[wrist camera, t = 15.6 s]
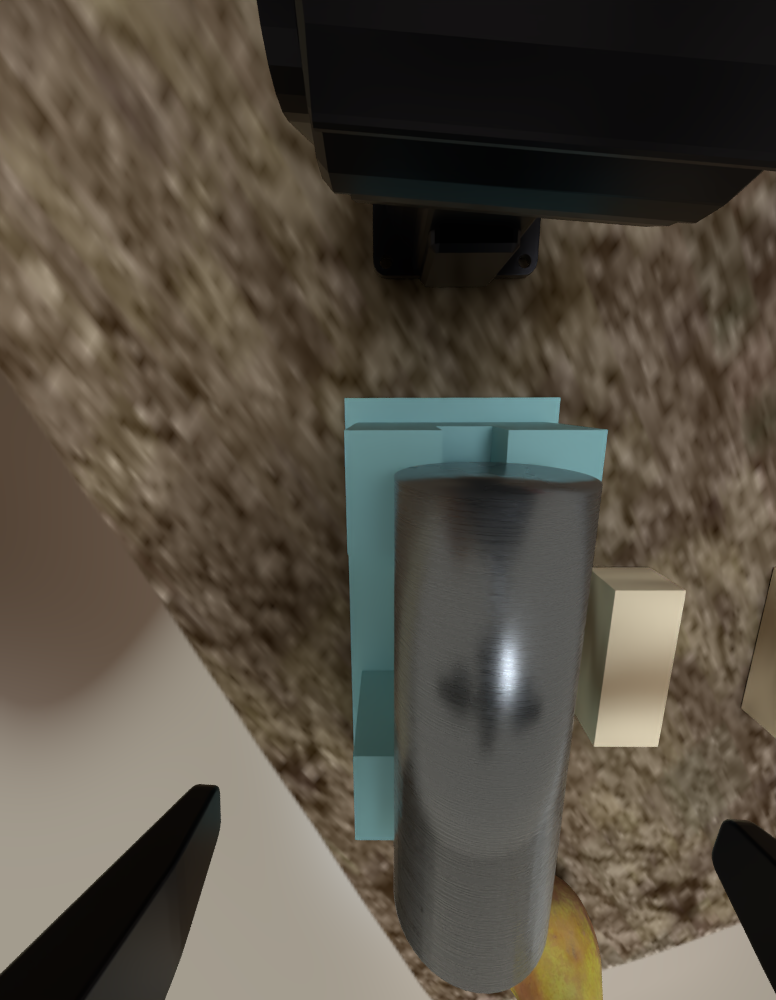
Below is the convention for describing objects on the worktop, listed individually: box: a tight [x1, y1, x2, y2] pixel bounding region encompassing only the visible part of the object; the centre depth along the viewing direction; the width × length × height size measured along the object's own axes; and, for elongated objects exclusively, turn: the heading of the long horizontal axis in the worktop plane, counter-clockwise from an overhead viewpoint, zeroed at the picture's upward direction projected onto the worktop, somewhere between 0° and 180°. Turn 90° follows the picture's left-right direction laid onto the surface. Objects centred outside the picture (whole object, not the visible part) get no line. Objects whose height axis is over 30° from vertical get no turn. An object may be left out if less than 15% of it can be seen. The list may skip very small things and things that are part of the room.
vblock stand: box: [344, 398, 608, 840], centre depth 17 cm, size 18×9×6 cm, turn 0°
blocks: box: [575, 567, 776, 747], centre depth 20 cm, size 8×12×2 cm, turn 90°
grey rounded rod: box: [394, 462, 603, 994], centre depth 12 cm, size 14×5×5 cm, turn 0°
